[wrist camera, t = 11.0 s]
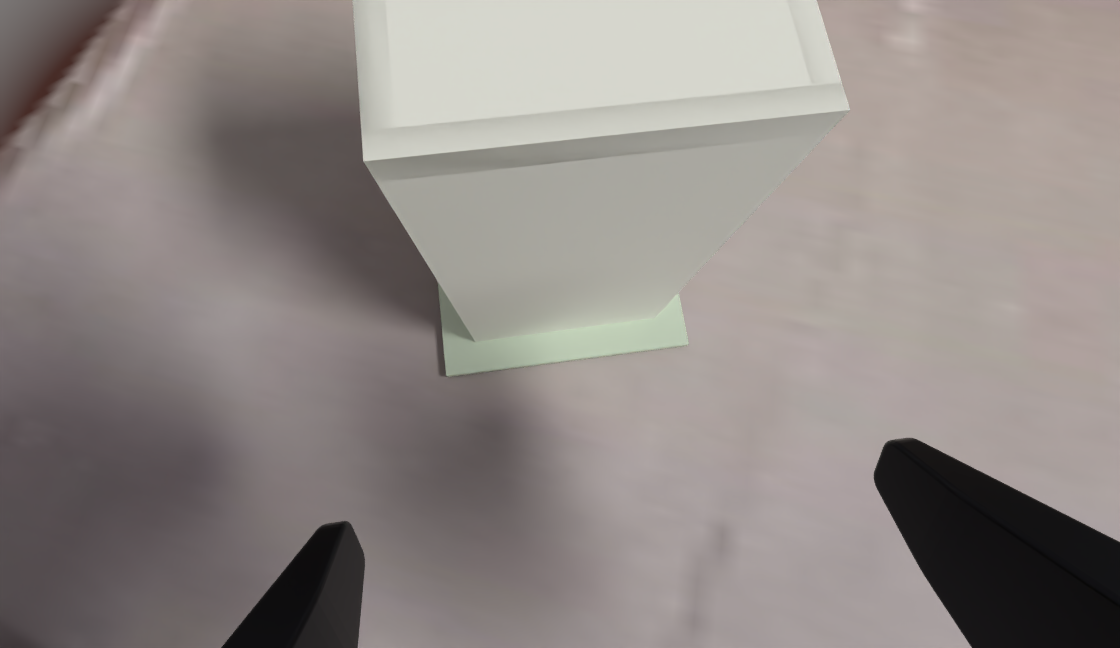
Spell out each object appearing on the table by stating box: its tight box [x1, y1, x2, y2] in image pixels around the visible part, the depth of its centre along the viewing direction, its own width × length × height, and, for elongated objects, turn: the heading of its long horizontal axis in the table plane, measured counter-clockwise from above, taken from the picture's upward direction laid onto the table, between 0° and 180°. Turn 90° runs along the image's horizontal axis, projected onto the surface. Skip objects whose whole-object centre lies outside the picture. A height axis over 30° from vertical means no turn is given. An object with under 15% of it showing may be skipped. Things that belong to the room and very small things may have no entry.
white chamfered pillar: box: [353, 0, 850, 342], centre depth 12 cm, size 6×6×11 cm
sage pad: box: [438, 282, 689, 377], centre depth 18 cm, size 8×8×1 cm
